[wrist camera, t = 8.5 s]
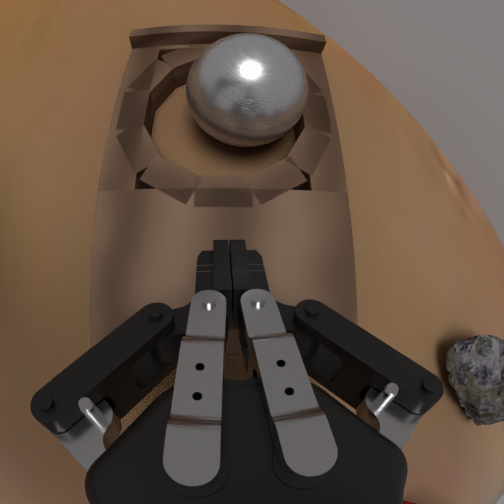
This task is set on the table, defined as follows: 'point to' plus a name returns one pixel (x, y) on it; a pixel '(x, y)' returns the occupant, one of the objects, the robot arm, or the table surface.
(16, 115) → the table surface
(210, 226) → the wooden ball holder
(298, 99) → the steel ball
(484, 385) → the mineral rock
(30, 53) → the table surface
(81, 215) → the table surface
